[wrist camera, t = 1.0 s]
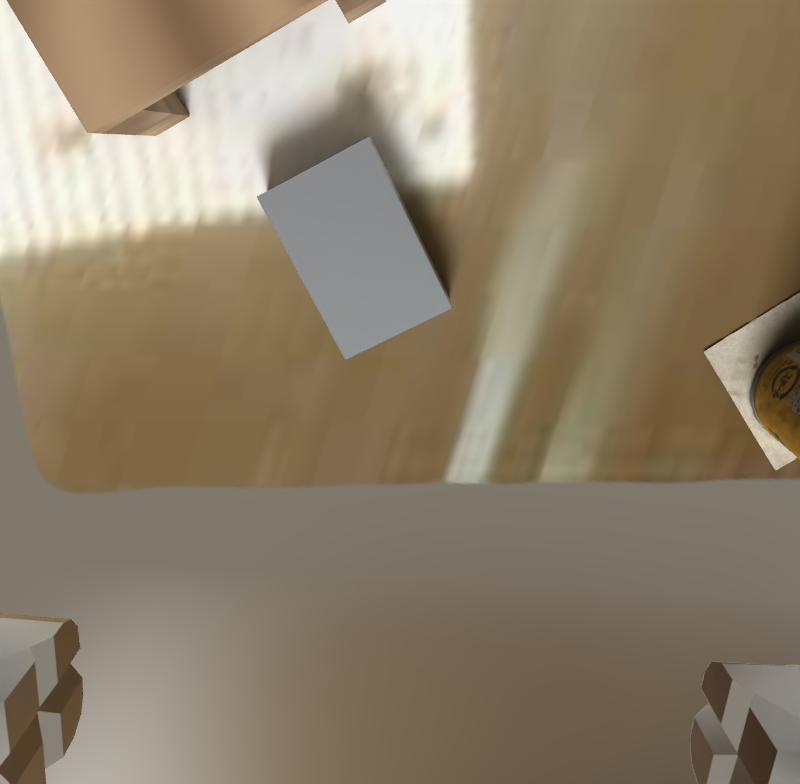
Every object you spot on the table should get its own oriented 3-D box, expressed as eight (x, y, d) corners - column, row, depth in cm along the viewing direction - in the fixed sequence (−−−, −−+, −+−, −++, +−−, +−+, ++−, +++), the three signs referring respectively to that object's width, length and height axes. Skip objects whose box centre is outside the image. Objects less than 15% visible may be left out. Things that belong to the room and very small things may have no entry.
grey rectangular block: (372, 137, 37) (368, 136, 34) (449, 296, 39) (451, 308, 37) (268, 193, 38) (256, 197, 35) (350, 344, 40) (345, 359, 38)
